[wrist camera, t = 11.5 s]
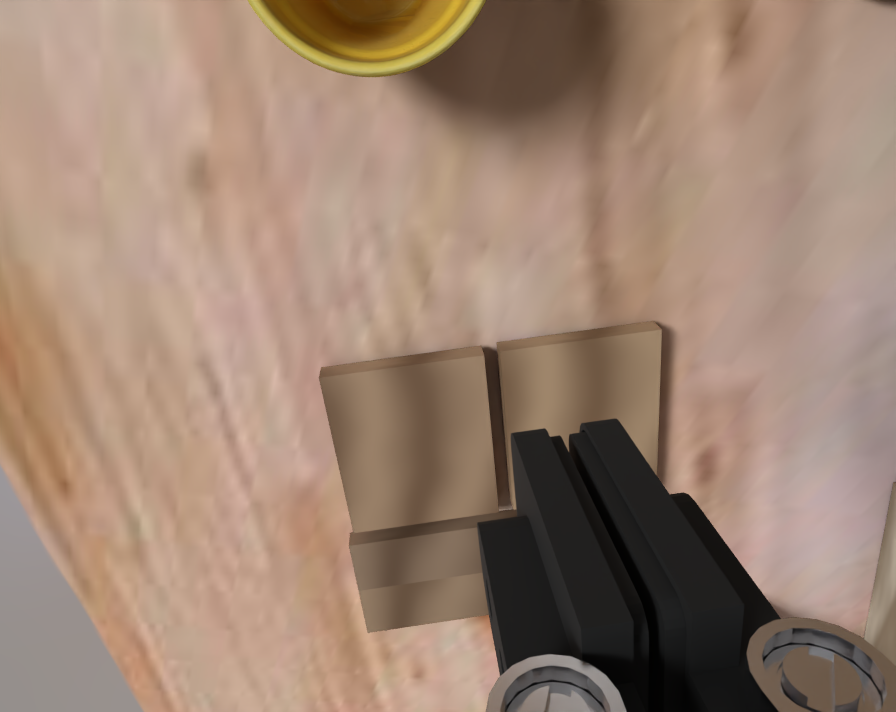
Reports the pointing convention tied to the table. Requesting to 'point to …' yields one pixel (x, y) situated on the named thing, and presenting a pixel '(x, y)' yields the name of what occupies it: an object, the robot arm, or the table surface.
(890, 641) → the wooden frame
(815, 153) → the table surface
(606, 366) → the plank
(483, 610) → the floor strip
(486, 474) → the plank
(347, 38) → the plant pot
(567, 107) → the table surface
